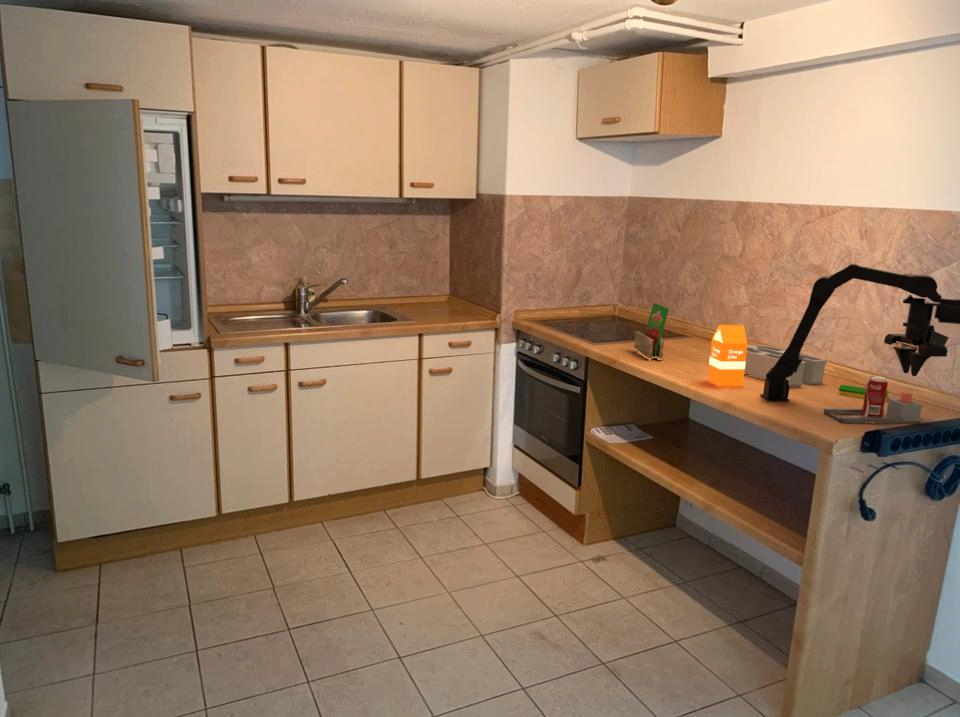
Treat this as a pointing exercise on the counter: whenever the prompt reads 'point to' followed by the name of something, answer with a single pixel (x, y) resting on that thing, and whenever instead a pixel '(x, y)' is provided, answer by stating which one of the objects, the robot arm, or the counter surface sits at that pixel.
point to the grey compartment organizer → (767, 357)
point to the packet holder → (647, 345)
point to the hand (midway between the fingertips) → (909, 374)
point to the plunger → (905, 397)
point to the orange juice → (728, 356)
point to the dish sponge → (854, 391)
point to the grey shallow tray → (859, 419)
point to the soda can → (874, 397)
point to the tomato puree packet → (656, 325)
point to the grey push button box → (904, 410)
